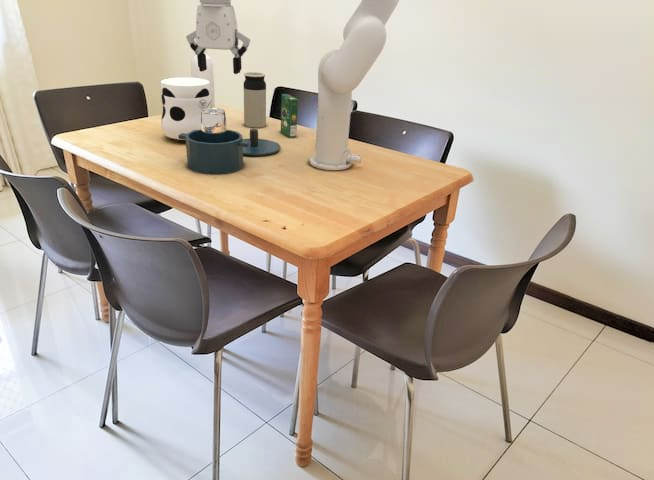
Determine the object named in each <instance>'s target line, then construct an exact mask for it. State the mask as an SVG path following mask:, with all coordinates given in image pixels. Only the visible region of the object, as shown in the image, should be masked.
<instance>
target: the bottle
mask: <svg viewBox="0 0 654 480" xmlns="http://www.w3.org/2000/svg"><path fill="white" fill-rule="evenodd" d="M194 41H195V43H196V44H197V40H196V37H195V38H194ZM204 54H205V55H206V65H207V70H205V71H200V70H199V67H198V59H197V55H196V54H195V53H194V55H193V56H192V58H191V61H190V74H191V78H200V79H205V80H208V81H209V82H210V87H211V105H212V108H216V99H215V80H214V63H213V61H212V58H211V57H210V56H209V54H207V49H206V50H205V51H204Z"/></svg>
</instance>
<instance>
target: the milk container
mask: <svg viewBox="0 0 654 480" xmlns="http://www.w3.org/2000/svg"><path fill="white" fill-rule="evenodd" d="M160 94H161V95H160V96H161V102H162V103H161V104H162V114H161V119H160V126H161V130H162V133H163V135H164V136H165V137H166V138H167V139H169V140H172V141H177V142H181V143H183V142H185V143H186V140H185V139H179V136H178V135H180V134H182V133H184V134H188V133H190V132H192V131H196V130H201V110H202V109H205V108H212V105H211V87H210V82H209V81H208V80H205V79H200V78H192V77H187V76H186V77H183V76H182V77H181V76H180V77H170V78H169V77H168V78H165V79H161V81H160Z"/></svg>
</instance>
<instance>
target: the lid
mask: <svg viewBox="0 0 654 480" xmlns="http://www.w3.org/2000/svg"><path fill="white" fill-rule="evenodd" d="M242 141H250V142H251V145H250V146H249V147H243V156H244V155H246V156H265V155H266V156H267V155H270V154H275V153H277V152H279V151H280V150H281V145H280V144H279V143H278V142H276V141H273V140H270V139H264V138H259V129H258V128H250V129H249V138H242Z"/></svg>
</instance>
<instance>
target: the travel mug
mask: <svg viewBox="0 0 654 480" xmlns="http://www.w3.org/2000/svg"><path fill="white" fill-rule="evenodd" d="M243 75H244V81H243V125H244V126H246V127H248V128H251V129H260V128H264V127H265V126H266V125H267V83H266V81H265V77H266V73H264V72H257V71H247V72H244V73H243Z"/></svg>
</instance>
